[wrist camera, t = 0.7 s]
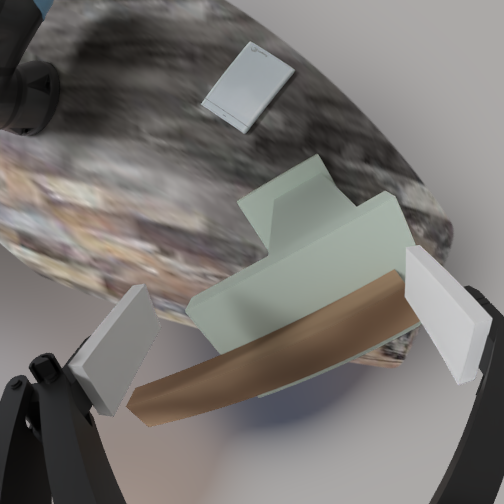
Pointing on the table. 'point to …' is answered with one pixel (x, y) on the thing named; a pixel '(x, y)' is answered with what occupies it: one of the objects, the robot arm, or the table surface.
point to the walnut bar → (281, 354)
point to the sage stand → (303, 258)
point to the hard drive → (247, 87)
